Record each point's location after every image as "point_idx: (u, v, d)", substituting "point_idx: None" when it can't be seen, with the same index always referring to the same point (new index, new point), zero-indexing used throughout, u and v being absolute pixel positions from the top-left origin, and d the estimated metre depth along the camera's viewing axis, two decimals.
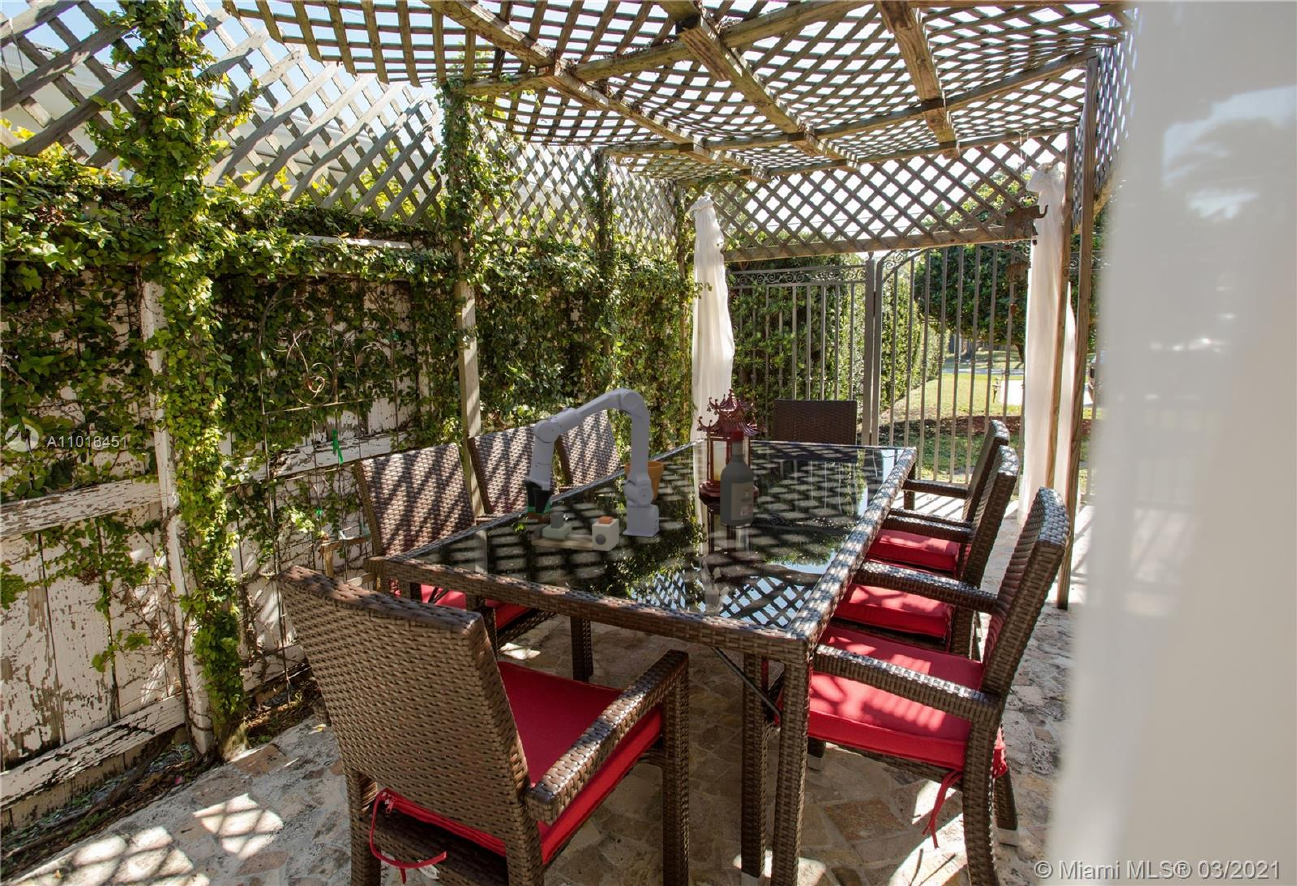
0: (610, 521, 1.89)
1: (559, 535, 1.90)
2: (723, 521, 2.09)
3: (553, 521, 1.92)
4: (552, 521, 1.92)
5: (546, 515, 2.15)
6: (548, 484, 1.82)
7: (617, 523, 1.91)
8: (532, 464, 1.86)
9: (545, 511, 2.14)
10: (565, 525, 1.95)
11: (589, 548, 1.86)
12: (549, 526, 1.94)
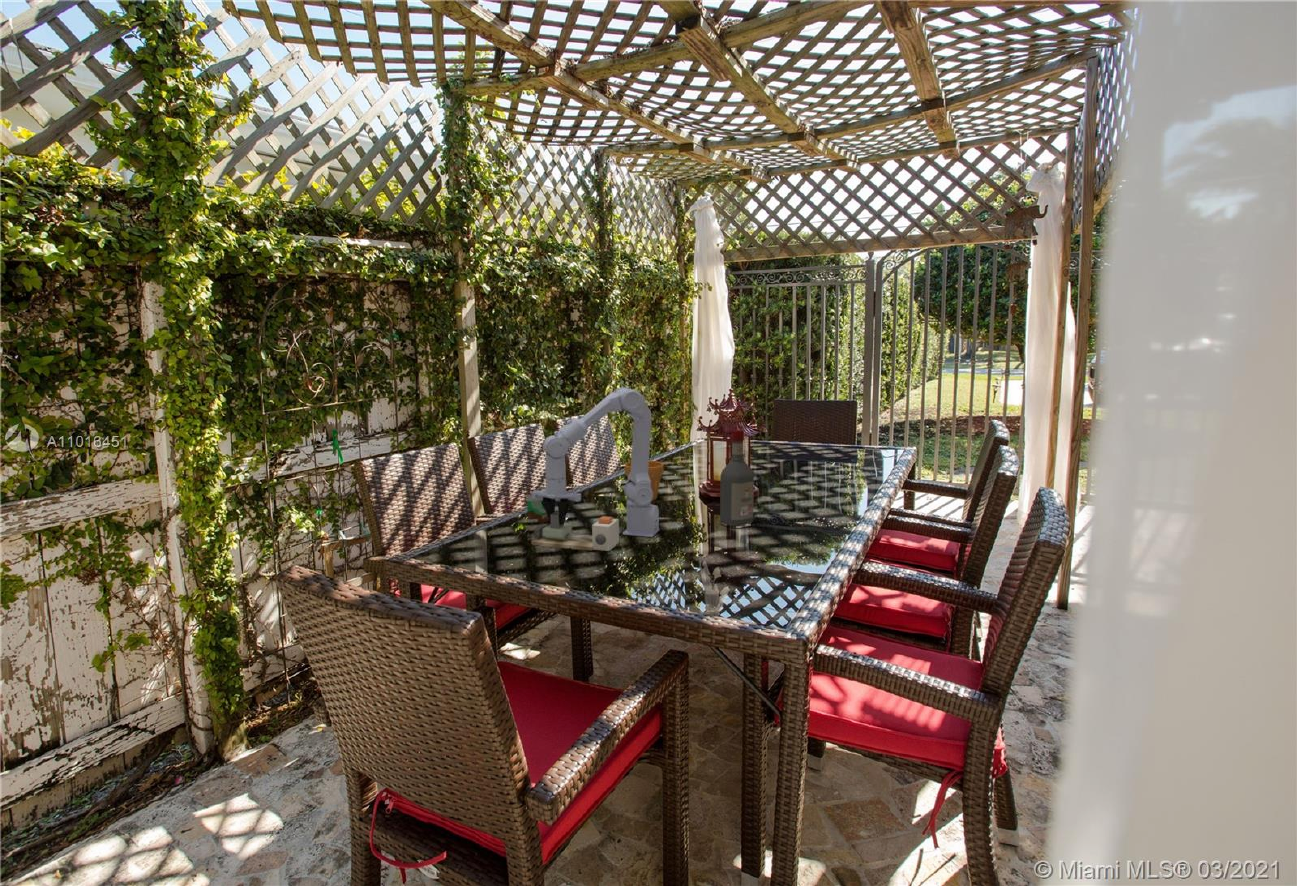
0: (610, 521, 1.89)
1: (559, 535, 1.90)
2: (723, 521, 2.09)
3: (553, 521, 1.92)
4: (552, 521, 1.92)
5: (546, 515, 2.15)
6: (580, 494, 1.91)
7: (617, 523, 1.91)
8: (553, 481, 1.89)
9: (545, 511, 2.14)
10: (565, 525, 1.95)
11: (589, 548, 1.86)
12: (549, 526, 1.94)
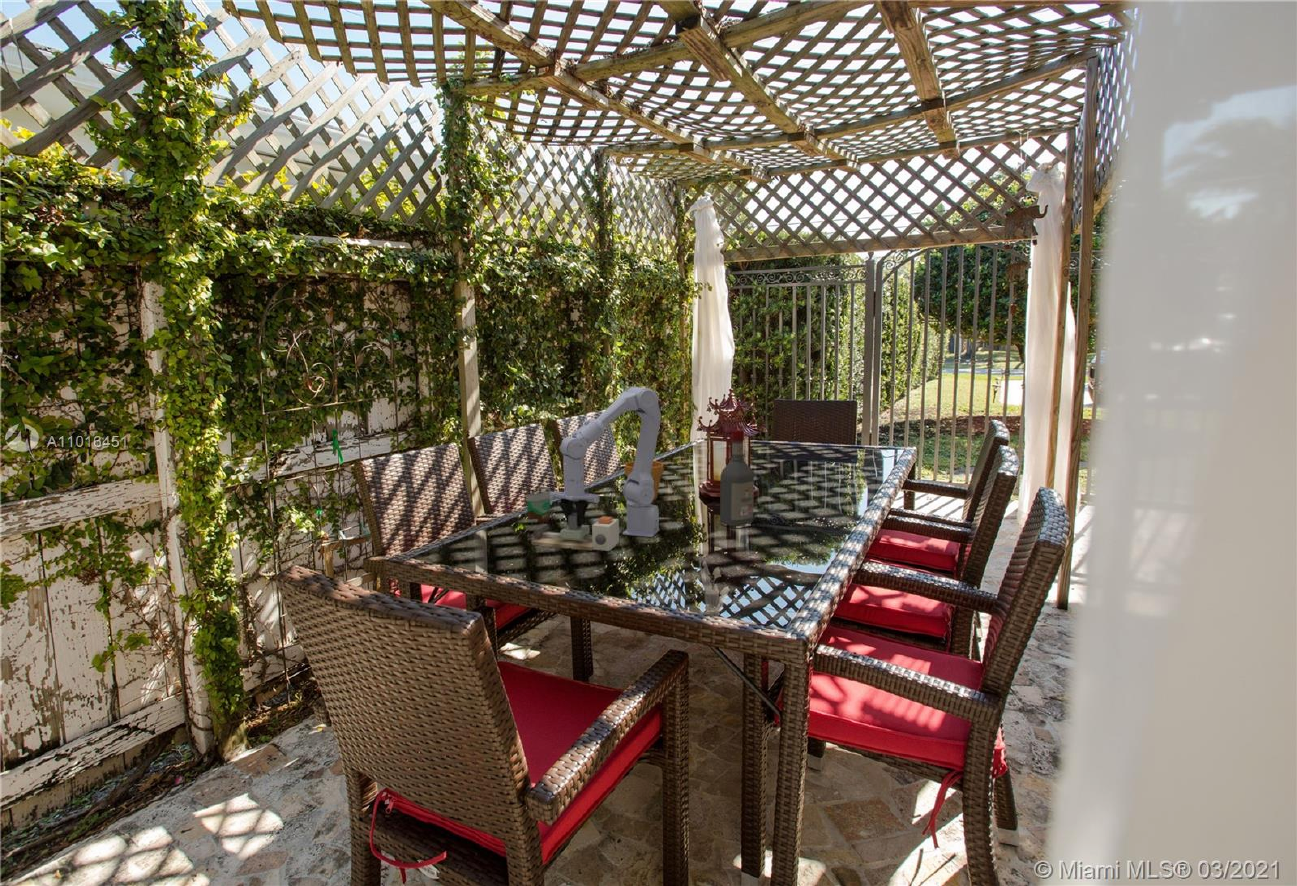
0: (610, 521, 1.89)
1: (577, 537, 1.88)
2: (723, 521, 2.09)
3: (571, 522, 1.90)
4: (570, 522, 1.90)
5: (546, 515, 2.15)
6: (598, 496, 1.89)
7: (617, 523, 1.91)
8: (572, 483, 1.87)
9: (545, 511, 2.14)
10: (583, 526, 1.93)
11: (589, 548, 1.86)
12: (567, 528, 1.92)
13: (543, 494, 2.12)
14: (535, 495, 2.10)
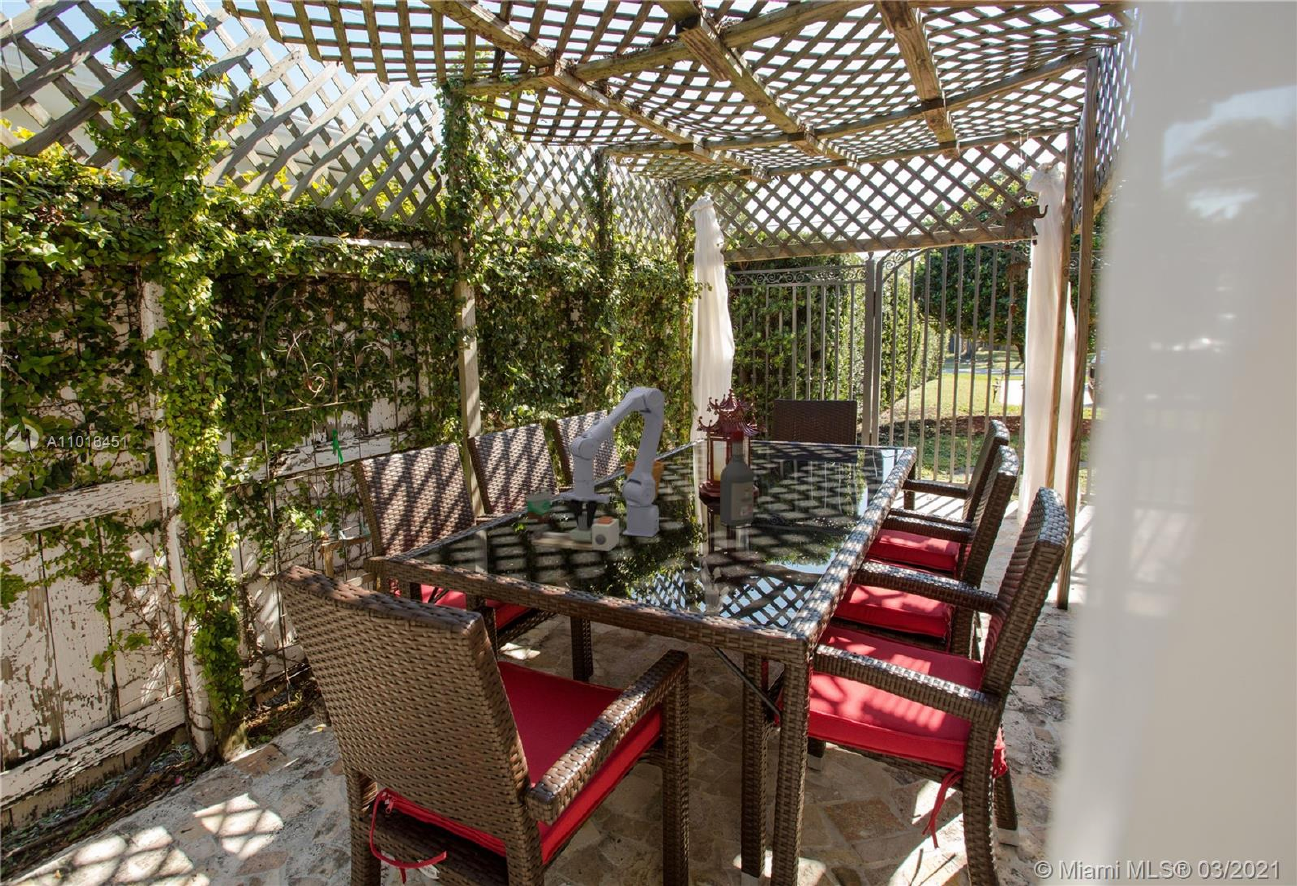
0: (610, 521, 1.89)
1: (587, 537, 1.88)
2: (723, 521, 2.09)
3: (581, 523, 1.89)
4: (580, 523, 1.89)
5: (546, 515, 2.15)
6: (608, 496, 1.88)
7: (617, 523, 1.91)
8: (582, 483, 1.86)
9: (545, 511, 2.14)
10: None
11: (589, 548, 1.86)
12: (577, 528, 1.91)
13: (543, 494, 2.12)
14: (535, 495, 2.10)
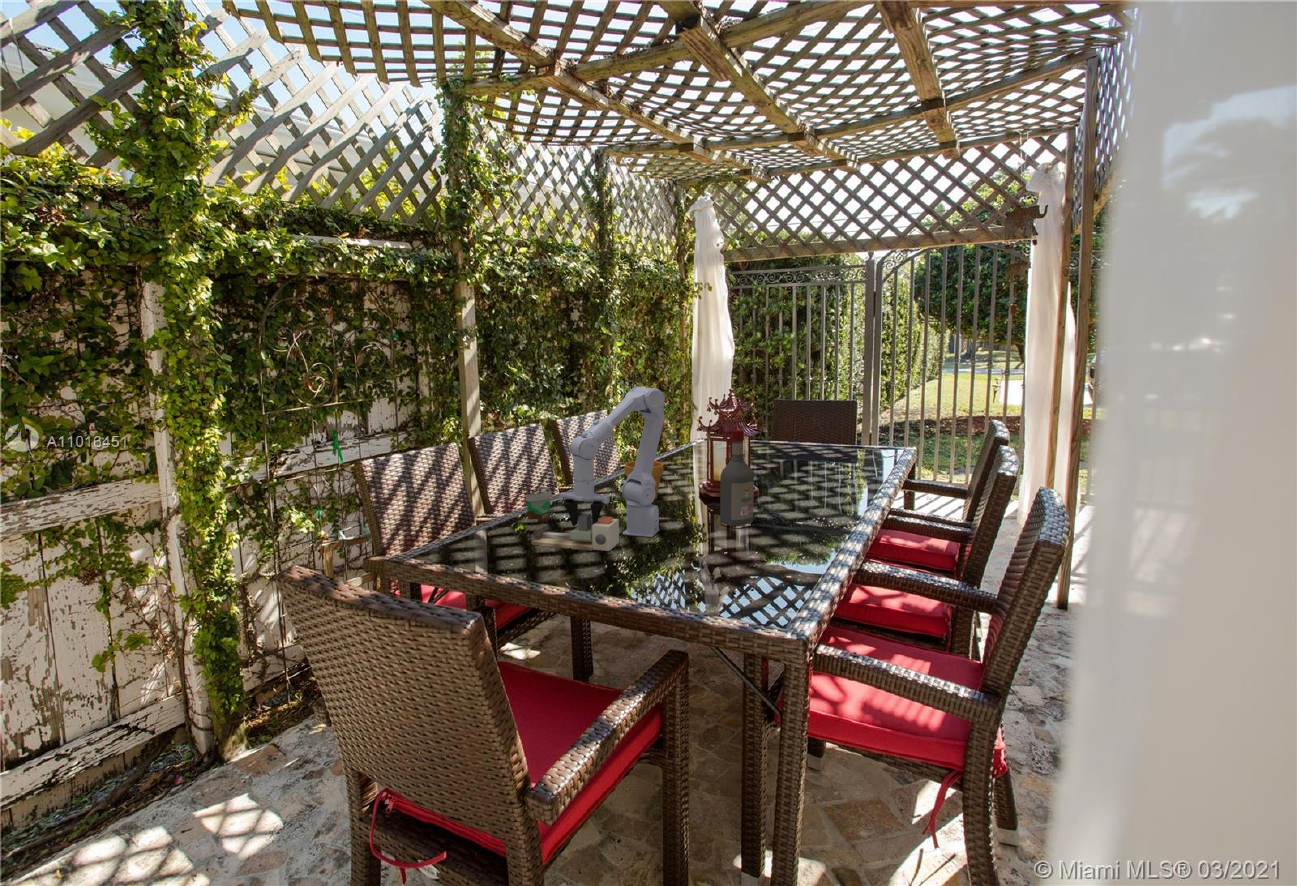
0: (610, 521, 1.89)
1: (588, 538, 1.88)
2: (723, 521, 2.09)
3: (581, 523, 1.89)
4: (580, 523, 1.89)
5: (546, 515, 2.15)
6: (608, 496, 1.88)
7: (617, 523, 1.91)
8: (582, 483, 1.86)
9: (545, 511, 2.14)
10: None
11: (589, 548, 1.86)
12: (577, 528, 1.91)
13: (543, 494, 2.12)
14: (535, 495, 2.10)
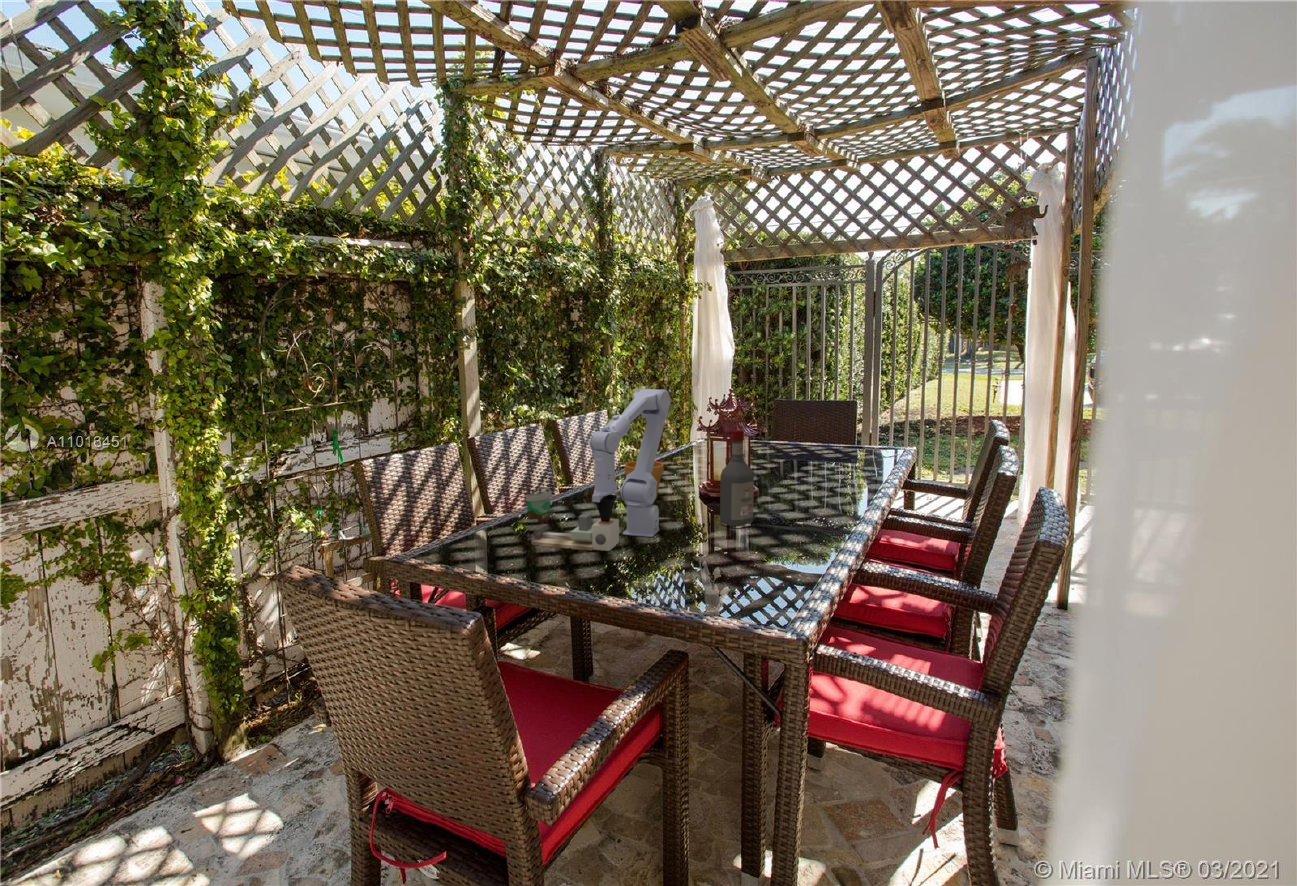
0: None
1: (588, 538, 1.88)
2: (723, 521, 2.09)
3: (581, 523, 1.89)
4: (580, 523, 1.89)
5: (546, 515, 2.15)
6: None
7: (617, 523, 1.91)
8: (614, 476, 1.87)
9: (545, 511, 2.14)
10: None
11: (589, 548, 1.86)
12: (577, 528, 1.91)
13: (543, 494, 2.12)
14: (535, 495, 2.10)
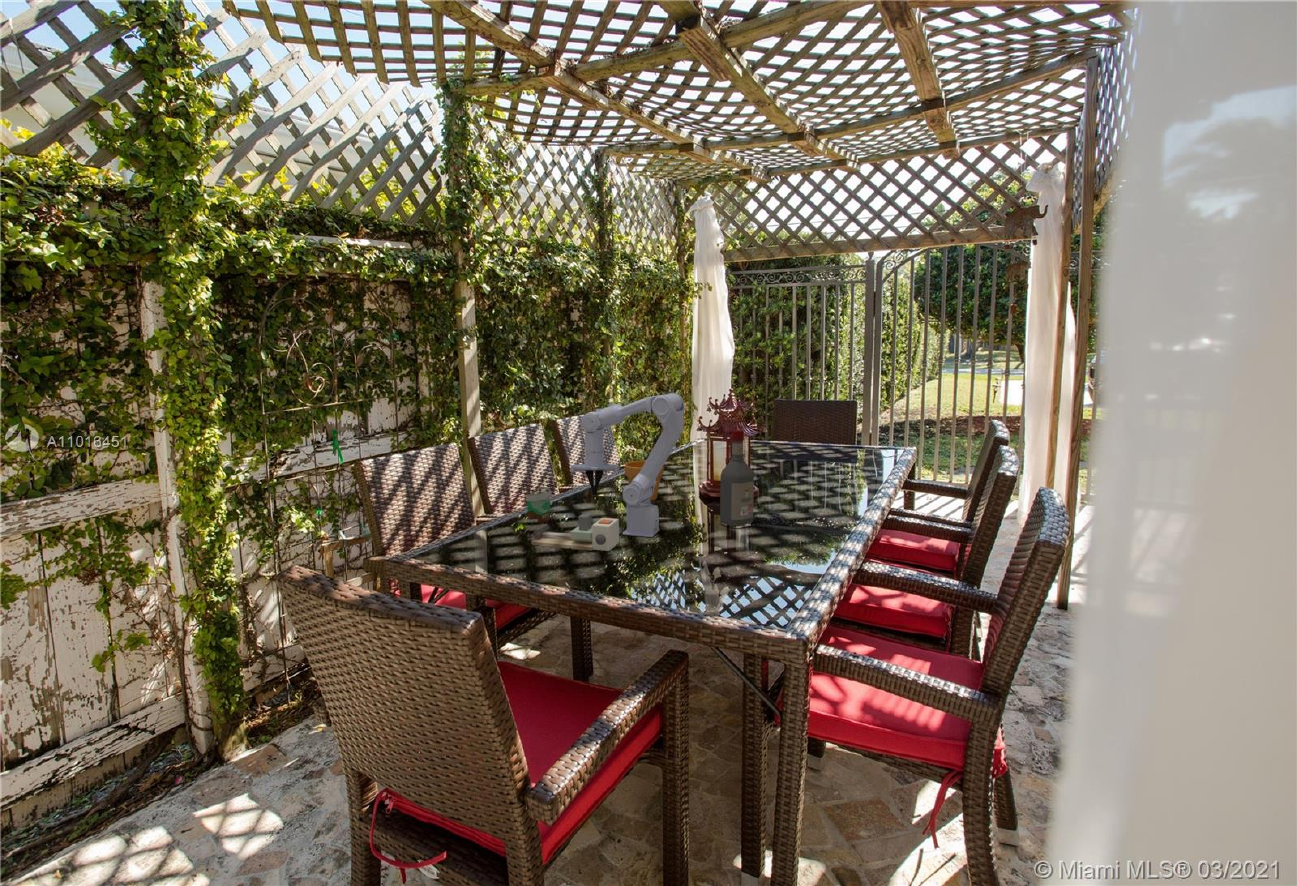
0: None
1: (588, 538, 1.88)
2: (723, 521, 2.09)
3: (581, 523, 1.89)
4: (580, 523, 1.89)
5: (546, 515, 2.15)
6: (617, 465, 2.07)
7: (617, 523, 1.91)
8: (596, 454, 2.03)
9: (545, 511, 2.14)
10: None
11: (589, 548, 1.86)
12: (577, 528, 1.91)
13: (543, 494, 2.12)
14: (535, 495, 2.10)
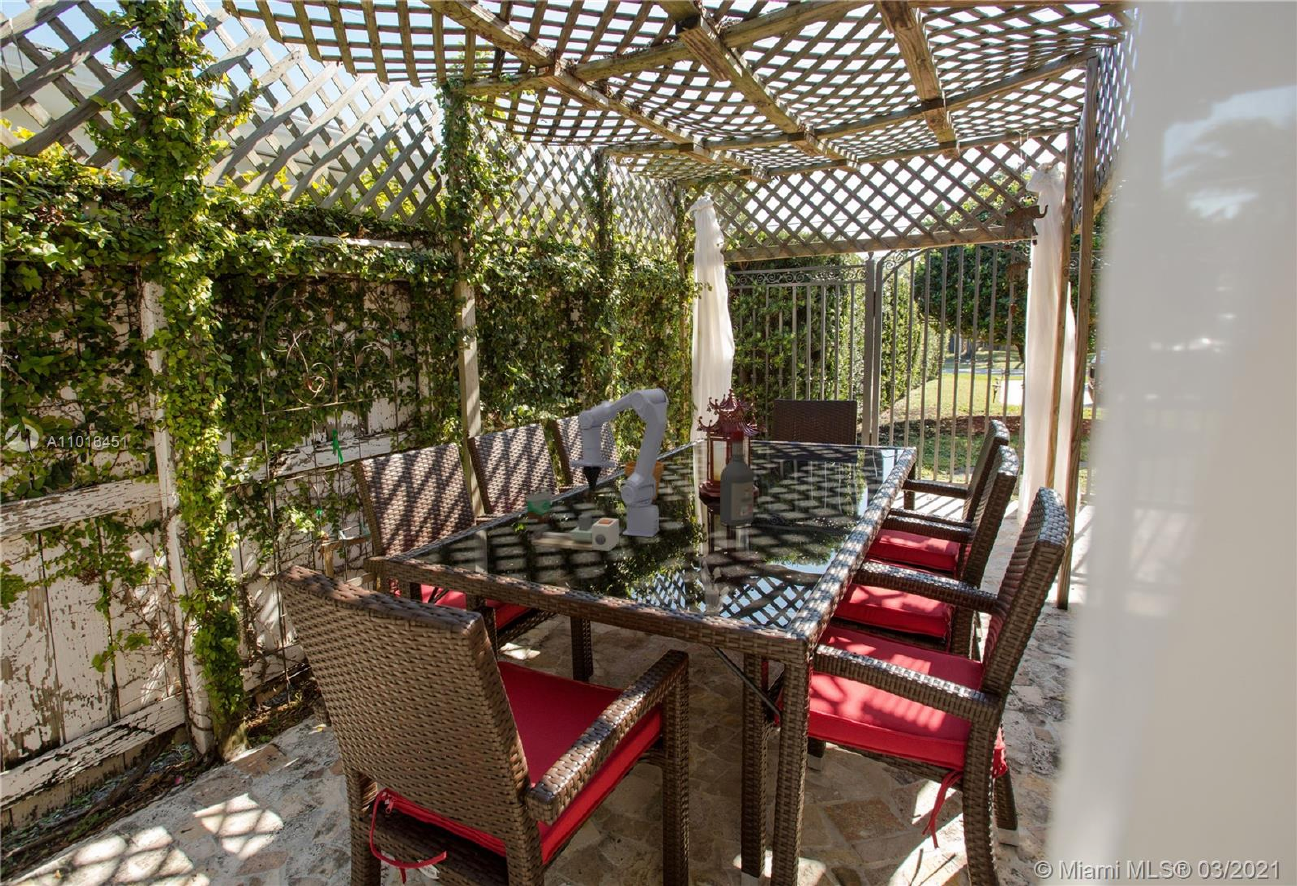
0: None
1: (588, 538, 1.88)
2: (723, 521, 2.09)
3: (581, 523, 1.89)
4: (580, 523, 1.89)
5: (546, 515, 2.15)
6: (614, 462, 2.12)
7: (617, 523, 1.91)
8: (591, 451, 2.09)
9: (545, 511, 2.14)
10: None
11: (589, 548, 1.86)
12: (577, 528, 1.91)
13: (543, 494, 2.12)
14: (535, 495, 2.10)
